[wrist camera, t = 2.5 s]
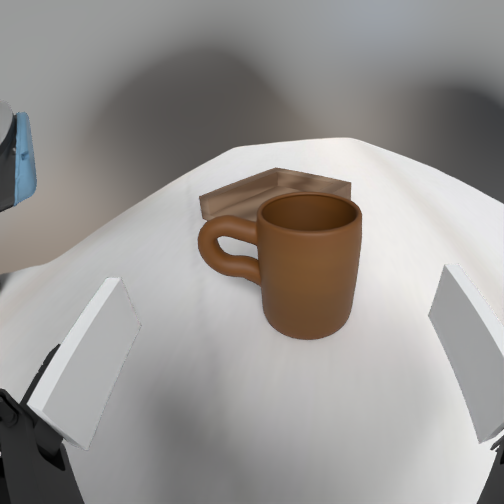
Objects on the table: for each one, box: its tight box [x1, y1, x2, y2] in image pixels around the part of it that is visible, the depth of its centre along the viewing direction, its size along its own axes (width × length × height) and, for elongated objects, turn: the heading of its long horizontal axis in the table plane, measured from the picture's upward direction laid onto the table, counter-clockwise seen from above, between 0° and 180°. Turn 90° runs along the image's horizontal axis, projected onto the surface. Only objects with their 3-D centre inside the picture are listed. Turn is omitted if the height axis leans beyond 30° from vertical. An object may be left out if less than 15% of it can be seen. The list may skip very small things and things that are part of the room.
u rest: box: [199, 168, 351, 221], centre depth 42 cm, size 15×17×4 cm
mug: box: [198, 191, 362, 340], centre depth 22 cm, size 12×8×9 cm, turn 88°
